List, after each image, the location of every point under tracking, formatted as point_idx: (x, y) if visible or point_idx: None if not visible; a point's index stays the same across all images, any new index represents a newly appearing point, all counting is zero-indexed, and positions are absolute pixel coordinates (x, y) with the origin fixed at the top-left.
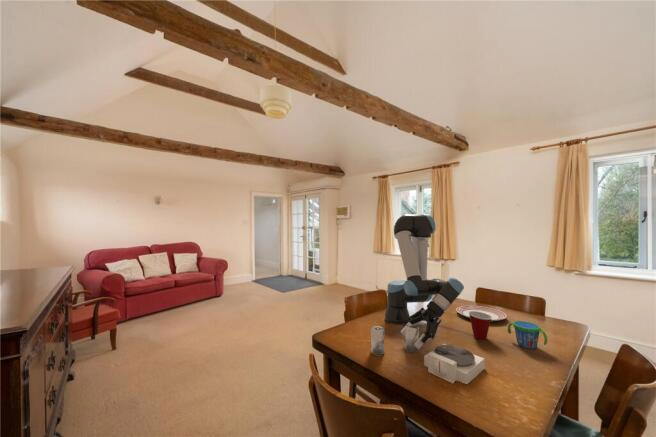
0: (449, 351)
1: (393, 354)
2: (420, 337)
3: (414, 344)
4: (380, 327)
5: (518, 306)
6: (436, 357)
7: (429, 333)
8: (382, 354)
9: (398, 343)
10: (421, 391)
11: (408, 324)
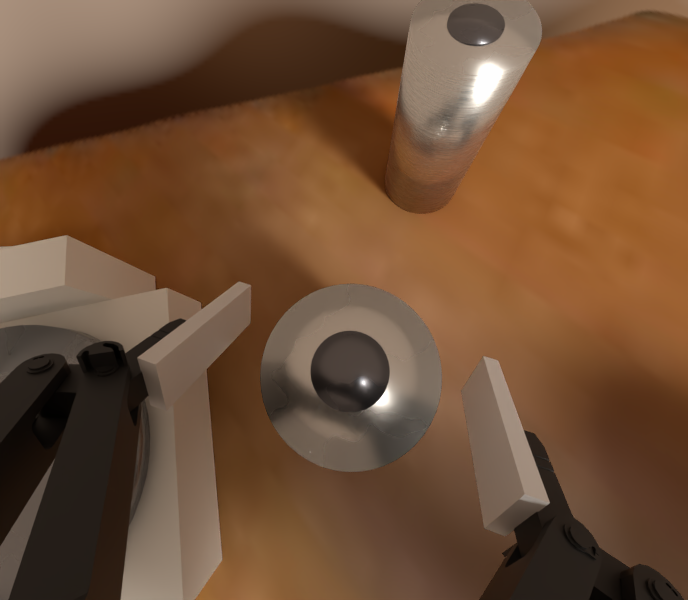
0: None
1: (366, 239)
2: (191, 325)
3: (245, 285)
4: (489, 56)
5: None
6: (4, 251)
7: (31, 370)
8: (385, 182)
9: (467, 356)
10: (98, 157)
11: (436, 384)
